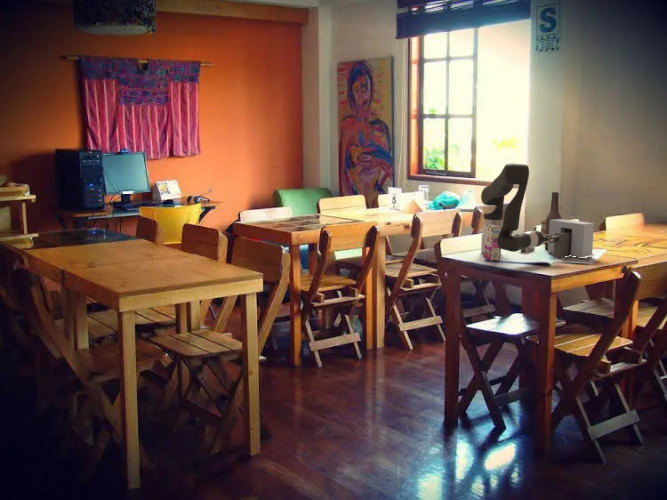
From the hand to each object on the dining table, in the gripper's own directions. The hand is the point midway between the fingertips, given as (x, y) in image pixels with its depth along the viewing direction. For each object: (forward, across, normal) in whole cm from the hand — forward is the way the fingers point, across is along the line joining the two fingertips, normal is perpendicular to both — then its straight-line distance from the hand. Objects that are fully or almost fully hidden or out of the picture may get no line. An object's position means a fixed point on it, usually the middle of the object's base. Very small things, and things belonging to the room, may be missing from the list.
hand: (552, 236), depth 373 cm
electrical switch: (+11, +24, +12) cm, 29 cm away
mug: (+47, +31, +13) cm, 58 cm away
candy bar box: (-23, +17, +12) cm, 31 cm away
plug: (+11, +2, +12) cm, 16 cm away
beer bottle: (+25, +18, +12) cm, 33 cm away
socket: (+18, +2, +12) cm, 21 cm away
